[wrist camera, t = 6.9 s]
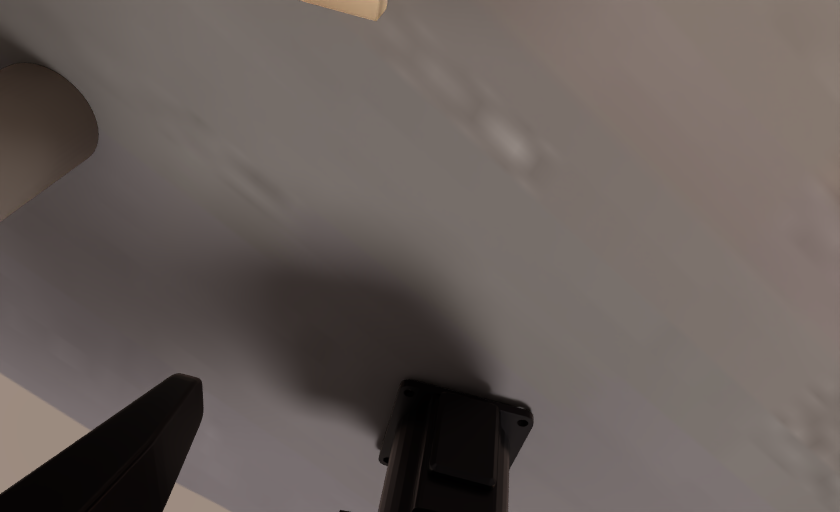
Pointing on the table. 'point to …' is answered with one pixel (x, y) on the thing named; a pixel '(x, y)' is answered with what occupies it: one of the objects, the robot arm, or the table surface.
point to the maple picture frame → (355, 7)
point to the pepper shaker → (39, 132)
